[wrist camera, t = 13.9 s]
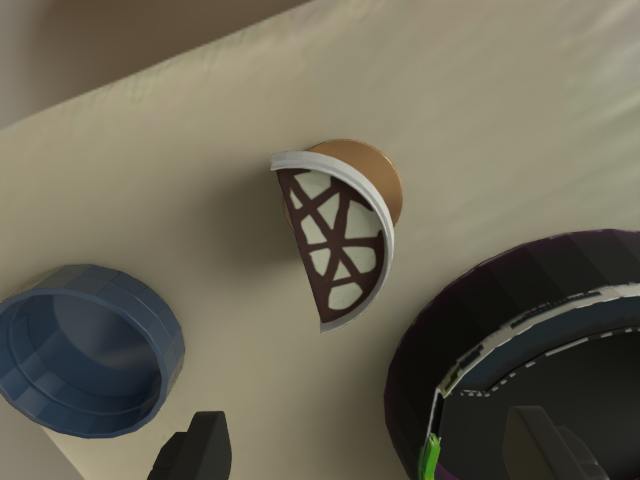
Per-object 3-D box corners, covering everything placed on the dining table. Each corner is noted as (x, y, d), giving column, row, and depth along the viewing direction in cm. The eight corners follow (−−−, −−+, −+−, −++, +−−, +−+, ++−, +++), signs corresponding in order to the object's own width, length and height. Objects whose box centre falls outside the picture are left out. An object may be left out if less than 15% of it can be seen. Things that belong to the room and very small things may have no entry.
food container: (392, 258, 35) (414, 322, 26) (324, 273, 36) (322, 341, 26) (362, 116, 31) (376, 131, 21) (286, 137, 31) (267, 159, 22)
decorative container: (698, 142, 31) (996, 192, 17) (800, 437, 42) (1035, 614, 28) (314, 355, 40) (304, 503, 26) (480, 554, 50) (537, 736, 36)
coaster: (278, 142, 32) (277, 143, 31) (403, 135, 32) (404, 136, 31) (288, 255, 36) (287, 258, 35) (400, 251, 35) (401, 254, 35)
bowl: (-2, 265, 37) (-50, 291, 32) (169, 259, 36) (145, 285, 32) (51, 401, 43) (17, 440, 38) (198, 398, 42) (182, 437, 37)
